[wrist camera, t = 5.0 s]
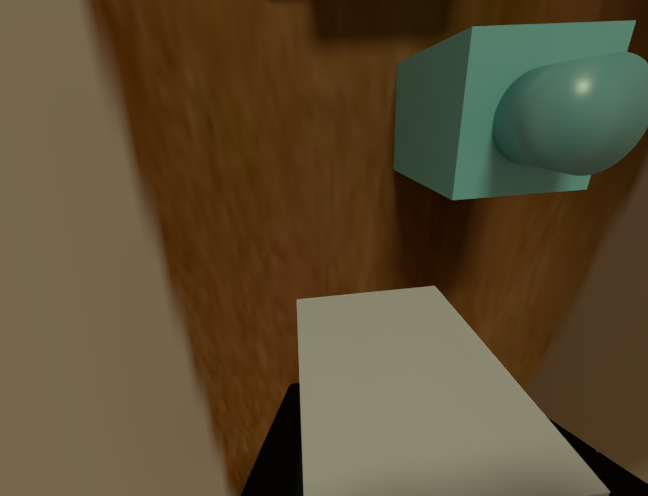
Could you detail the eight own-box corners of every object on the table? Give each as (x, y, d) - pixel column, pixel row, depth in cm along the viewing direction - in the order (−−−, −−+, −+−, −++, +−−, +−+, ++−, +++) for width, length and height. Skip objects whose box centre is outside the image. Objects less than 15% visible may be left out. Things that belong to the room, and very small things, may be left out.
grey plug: (434, 285, 10) (827, 745, 3) (424, 387, 12) (641, 829, 4) (296, 299, 10) (316, 866, 2) (307, 401, 11) (337, 901, 4)
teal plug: (496, 58, 14) (736, -8, 6) (481, 163, 15) (653, 206, 8) (397, 63, 13) (528, -1, 6) (393, 169, 15) (490, 220, 8)
